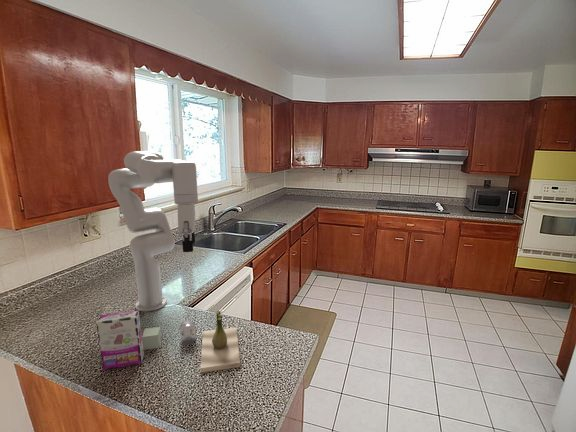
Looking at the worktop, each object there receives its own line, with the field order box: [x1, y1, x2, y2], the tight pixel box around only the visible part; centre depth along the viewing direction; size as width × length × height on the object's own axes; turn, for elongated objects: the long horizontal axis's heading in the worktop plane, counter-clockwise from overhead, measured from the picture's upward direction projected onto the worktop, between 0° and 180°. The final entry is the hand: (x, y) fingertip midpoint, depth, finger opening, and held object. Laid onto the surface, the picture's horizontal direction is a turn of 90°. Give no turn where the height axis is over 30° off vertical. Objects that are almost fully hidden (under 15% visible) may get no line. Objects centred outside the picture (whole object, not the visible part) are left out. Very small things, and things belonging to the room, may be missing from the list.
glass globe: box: [179, 320, 197, 345], centre depth 111 cm, size 5×5×6 cm
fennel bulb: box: [212, 310, 227, 349], centre depth 104 cm, size 6×5×12 cm
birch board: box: [199, 327, 241, 373], centre depth 106 cm, size 20×12×2 cm, turn 13°
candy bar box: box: [96, 309, 145, 371], centre depth 98 cm, size 11×5×16 cm, turn 105°
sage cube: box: [142, 326, 162, 351], centre depth 108 cm, size 5×5×5 cm
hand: (189, 247), depth 108 cm, fingers open, 9 cm apart
